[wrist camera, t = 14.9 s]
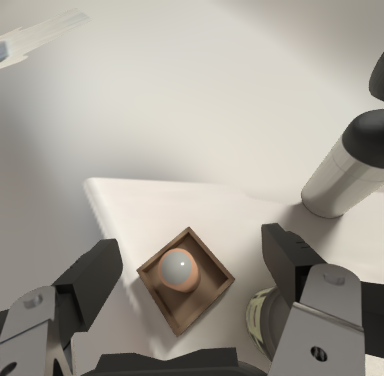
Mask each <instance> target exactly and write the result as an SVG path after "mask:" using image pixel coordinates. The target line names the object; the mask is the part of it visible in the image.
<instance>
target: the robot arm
mask: <svg viewBox="0 0 384 376" xmlns="http://www.w3.org/2000/svg"><path fill="white" fill-rule="evenodd" d="M369 91H370V93H371V95H372V96H374V97H376V98H377V99H380V100H382V101H384V52H383V54H382V55H381V57H380V59H379V60H378V62H377V64H376V66H375V68H374V70H373V72H372V75H371V77H370V81H369ZM382 185H384V109H378V110H372V111H368V112H365V113H363V114H361V115H359V116H357V117H356V118H355V119H354V120H353V121H352V122H351V123H350V124H349V125H348V127H347V128H346V130H345V131H344V133H343V134H342V135H341V137H340V138H339V139H338V141H337V142H336V144H335V145H334V146H333V148H332V149H331V151H330V152H329V154H328V155H327V156H326V158H325V159H324V160H323V162H322V163H321V164H320V166H319V167H318V168H317V170H316V171H315V173H314V174H313V175H312V177H311V178H310V180H309V181H308V182H307V183H306V185H305V186H304V188H303V189H302V192H301V198H302V201H303V203H304V205H305V206H306V207H307V209H309V210H310V211H311V212H313V213H314V214H316V215H318V216H321V217H325V218H335V217H338V216H341V215H342V214H344V213H345V212H346V211H348V210H349V209H350V208H352V207H353V206H355V205H356V204H358V203H359V202H360V201H362V200H363V199H364V198H366V197H367V196H369V195H370V194H371V193H373V192H374V191H375V190H377V189H378V188H379V187H381V186H382ZM261 232H262V252H263V258H264V261H265V264H266V266H267V267H268V269H269V271H270V273H271V275H272V277H273V279H274V281H275V282H276V284H277V286H278V288H279V290H280V292H281V294H282V296H283V298H284V299H285V301H286V303H287V305H288V307H289V309H290V314H289V317H288V320H287V322H286V325H285V328H284V331H283V334H282V336H281V339H280V342H279V345H278V348H277V350H276V353H275V356H274V359H273V362H272V364H271V367H270V370H269V373H268V374H266V373H265V372H263V371H262V370H260V369H258V368H256V367H254V366H252V365H249V364H247V363H244V362H240V361H238V359H237V353H236V347H233V348H214V349H200V350H198V351H195V352H192V353H189V354H186V355H183V356H180V357H177V358H174V359H171V360H167V361H162V360H158V359H155V358H151V357H147V356H143V355H140V354H136V353H120V354H102V355H101V357H100V360H99V362H98V364H97V366H96V368H95V369H94V370H91V371H89V372H87V373H85V374H83V375H81V376H365V354H368V355H372V356H376V357H380V358H384V284H376V283H369V282H363V281H360V279H359V278H358V277H357V276H356V275H355V274H354V273H353V272H351V271H349V270H348V269H346V268H343V267H341V266H338V265H334V264H328V263H327V262H326V261H325V260H323V259H322V258H321V257H320V256H319V255H318V254H317V253H316V252H315V251H314V250H313V249H312V248H310V246H309V245H308V244H307V243H305V241H304V240H303V239H302V238H301V237H300V236H298V235H296V234H294V233H292V232H290V231H288V232H285V231H284V230H283V229H282V227H281V226H280V225H279V224H278V223H272V224H262V227H261ZM122 270H123V263H122V259H121V254H120V250H119V246H118V242H117V240H116V239H104V240H100V241H99V242H98V243H97V244H96V245H95V246H94V247H93V248H92V249H91V250H90V251H88V252H87V253H85V254H83V255H82V256H81V257H80V258H79V259H78V260H77V261H76V262H75V263H74V264H73V265H72V266H71V267H70V269H67V270H66V271H65V272H64V273H63V274H62V275H61V276H60V277H59V278H58V279H57V280H56V281H55V282H54V283H53V284H52V285H51V286H43V287H40V288H37V289H34V290H32V291H30V292H28V293H26V294H25V295H23V296H22V297H20V298H19V299H18V300H16V301H15V302H14V303H13V304H12V306H11V307H10V309H8V310H4V311H1V312H0V376H76V366H75V354H74V343H73V340H72V336H73V334H74V333H75V332H88V330H89V328H90V327H91V325H92V323H93V322H94V320H95V318H96V317H97V315H98V313H99V312H100V310H101V308H102V306H103V305H104V303H105V301H106V300H107V298H108V296H109V295H110V293H111V291H112V290H113V288H114V286H115V284H116V283H117V281H118V279H119V278H120V276H121V274H122Z"/></svg>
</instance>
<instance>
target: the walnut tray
mask: <svg viewBox="0 0 384 376" xmlns="http://www.w3.org/2000/svg"><path fill="white" fill-rule="evenodd" d="M176 248H180V249H184V250H186V251H187V252H189V253H190V254H191V256H192V257H193V259H194V261H195V263H196V264H197V266H198V268H199V270H200V273H201V281H200V284H199V286H198V287H197V288H196V290H194V291H193V292H190V293H182V292H180V291H177V290H175V289H172V288H170V287H168V286H166V285H165V284H164V283H163V282H162V281H161V279H160V277H159V274H158V265H159V262H160V260H161V258H162V256H163V255H164V254H165V253H166V252H168V251H169V250H172V249H176ZM137 272H138V274H139V275H140V277H141V279H142V280H143V282H144V284H145V285H146V287H147V289H148V290H149V292H150V294H151V295H152V297H153V299H154V300H155V302H156V304H157V305H158V307H159V309H160V310H161V312H162V314H163V315H164V317H165V319H166V320H167V322H168V323H169V325H170V327H171V328H172V330H173V332H174V333H175V335H176V337H178V336H179V335H181V334H182V333H183V332H184V331H185V330H186V329H187V328H188V327H189V326H190V325H191V324H192V323H193V322H194V321H195V320H196V319H197V318H198V317H199V316H200V315H201V314H202V313H203V312H204V311H205V310H206V309H207V308H208V307H209V306H210V305H211V304H212V303H213V302H214V301H215V300H216V299H217V298H218V297H219V296H220V295H221V294H222V293H223V292H224V291H225V290H226V289H227V288H228V287H229V286H230V285H231V284H232V283H233V282H234V280H235V278H234V277H233V276H232V275H231V274H230V273H229V272H228V270H227V269H226V268H225V267H224V266H223V265H222V264H221V262H220V261H219V260H218V259H217V258H216V257H215V255H214V254H213V253H212V252H211V251H210V250H209V249H208V247H207V246H206V245H205V244H204V243H203V242H202V241H201V239H200V238H199V237H198V236H197V235H196V234H195V233H194V231H193V230H192V229H191V228H190V227H188V228H186V229H185V230H184V231H183V232H182V233H180V234H179V235H178V236H177V237H176V238H174V239H173V240H172V241H171V242H170V243H168V244H167V245H166V246H165V247H164V248H162V249H161V250H160V251H159V252H158V253H156V254H155V255H154V256H153V257H151V258H150V259H149V260H148V261H147V262H145V263H144V264H143V265H142V266H141V267H139V268H138V269H137Z"/></svg>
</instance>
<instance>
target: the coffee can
mask: <svg viewBox="0 0 384 376" xmlns="http://www.w3.org/2000/svg"><path fill="white" fill-rule="evenodd" d="M289 314H290V309H289V307H288V305H287V303H286V301H285V299H284V298H283V296H282V294H281V292H280V290H279V288H278V286H277V285H276V286H274V287H272V288H269V289H264V290H261V291H259V292H257V293H256V294H255V295H254V296H253V297H252V298H251V300H250V301H249V303H248V306H247V310H246V324H247V329H248V332H249V335H250V337H251V339H252V341H253V342H254V344H255V345H256V346H257V348H258V349H259V350H260V351H261V352H262V353H263V354H264V355H266V356H267V357H268V359H269V360H270V361H271V362H273V359H274V356H275V353H276V350H277V348H278V345H279V342H280V339H281V336H282V334H283V331H284V328H285V325H286V322H287V320H288V317H289Z"/></svg>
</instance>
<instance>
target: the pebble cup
mask: <svg viewBox="0 0 384 376" xmlns="http://www.w3.org/2000/svg"><path fill="white" fill-rule="evenodd" d="M158 274H159V277H160V279H161V281H162V282H163V283H164V284H165V285H166V286H168V287H170V288H172V289H175V290H177V291H180V292H182V293H190V292H193V291H194V290H196V288H197V287H198V286H199V284H200V281H201V273H200V270H199V268H198V266H197V264H196V263H195V261H194V259H193V257H192V256H191V254H190V253H189V252H187V251H186V250H184V249H180V248H176V249H172V250H169V251H168V252H166V253H165V254H164V255H163V256H162V258H161V260H160V262H159V265H158Z"/></svg>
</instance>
